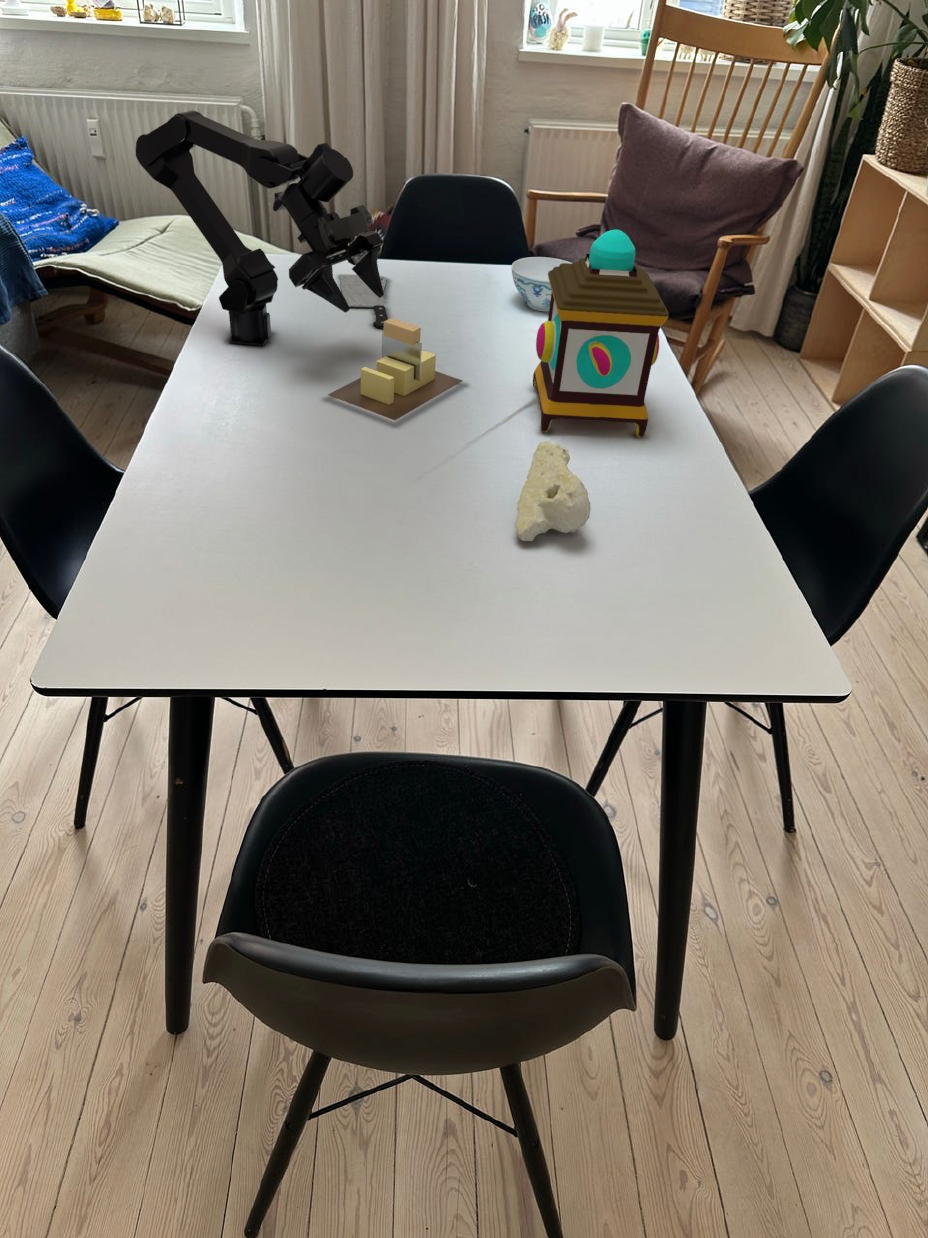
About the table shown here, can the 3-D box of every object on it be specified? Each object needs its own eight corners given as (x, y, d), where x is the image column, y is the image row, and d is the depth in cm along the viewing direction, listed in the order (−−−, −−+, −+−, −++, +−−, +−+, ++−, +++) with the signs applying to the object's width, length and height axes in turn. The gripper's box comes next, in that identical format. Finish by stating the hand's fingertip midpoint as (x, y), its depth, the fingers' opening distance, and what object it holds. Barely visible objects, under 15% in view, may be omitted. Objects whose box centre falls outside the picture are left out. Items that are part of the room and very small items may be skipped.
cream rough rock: (568, 574, 124) (634, 485, 124) (536, 543, 119) (604, 451, 120) (508, 546, 136) (568, 465, 137) (477, 517, 132) (539, 434, 133)
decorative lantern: (634, 390, 166) (669, 214, 147) (654, 443, 150) (696, 255, 131) (523, 384, 164) (544, 206, 146) (532, 437, 149) (557, 246, 130)
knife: (378, 369, 158) (378, 319, 152) (385, 365, 159) (386, 316, 154) (415, 383, 155) (418, 332, 149) (423, 378, 156) (425, 328, 151)
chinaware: (581, 321, 190) (587, 284, 185) (508, 316, 189) (512, 278, 185) (575, 295, 202) (580, 259, 197) (507, 290, 201) (510, 254, 196)
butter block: (375, 385, 157) (376, 360, 155) (407, 369, 163) (407, 344, 161) (404, 396, 155) (405, 371, 152) (434, 379, 161) (436, 354, 158)
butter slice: (360, 394, 154) (360, 368, 152) (365, 391, 155) (365, 366, 152) (389, 404, 152) (389, 379, 149) (393, 402, 153) (394, 377, 150)
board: (327, 399, 154) (327, 394, 154) (398, 363, 168) (399, 357, 167) (394, 425, 149) (394, 420, 148) (462, 385, 162) (463, 380, 162)
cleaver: (340, 327, 178) (392, 328, 179) (340, 324, 178) (392, 325, 179) (340, 276, 201) (386, 277, 202) (340, 273, 200) (386, 274, 202)
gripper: (299, 200, 139) (357, 292, 142) (375, 179, 151) (427, 264, 154) (263, 242, 147) (318, 328, 150) (338, 218, 159) (388, 298, 162)
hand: (365, 303), depth 154 cm, fingers open, 9 cm apart
